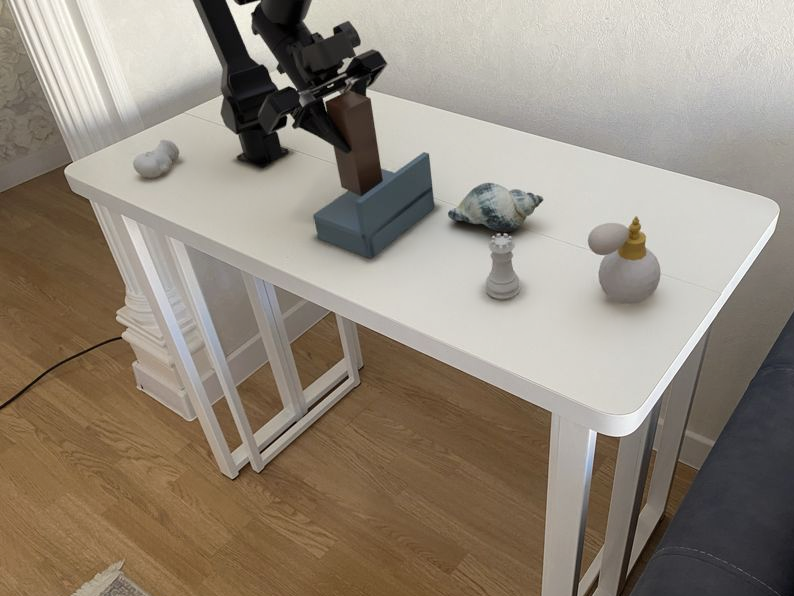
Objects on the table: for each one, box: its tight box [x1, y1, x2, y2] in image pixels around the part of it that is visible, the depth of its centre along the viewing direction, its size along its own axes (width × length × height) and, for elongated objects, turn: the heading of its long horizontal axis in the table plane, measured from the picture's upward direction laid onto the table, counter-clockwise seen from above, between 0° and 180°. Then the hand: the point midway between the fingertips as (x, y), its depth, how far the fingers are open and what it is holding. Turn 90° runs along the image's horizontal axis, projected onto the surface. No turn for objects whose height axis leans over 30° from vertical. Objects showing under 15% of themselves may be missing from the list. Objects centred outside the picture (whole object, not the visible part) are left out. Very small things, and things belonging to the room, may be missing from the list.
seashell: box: [447, 182, 544, 233], centre depth 103 cm, size 6×8×12 cm
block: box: [324, 91, 383, 197], centre depth 97 cm, size 4×4×12 cm
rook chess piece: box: [485, 232, 521, 300], centre depth 91 cm, size 4×4×8 cm
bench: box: [312, 151, 435, 260], centre depth 104 cm, size 10×15×9 cm, turn 145°
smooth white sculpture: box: [132, 139, 180, 179], centre depth 121 cm, size 4×8×5 cm
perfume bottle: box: [587, 216, 662, 305], centre depth 87 cm, size 8×10×12 cm
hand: (361, 145), depth 96 cm, fingers closed on block, 4 cm apart
